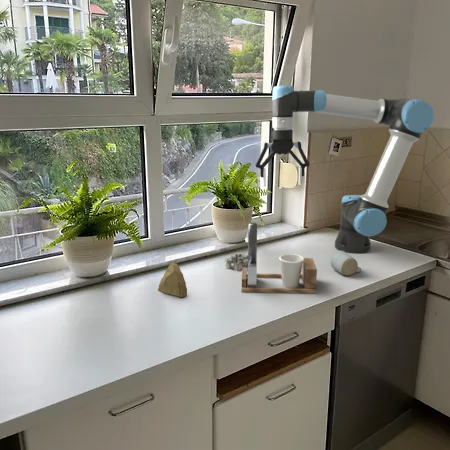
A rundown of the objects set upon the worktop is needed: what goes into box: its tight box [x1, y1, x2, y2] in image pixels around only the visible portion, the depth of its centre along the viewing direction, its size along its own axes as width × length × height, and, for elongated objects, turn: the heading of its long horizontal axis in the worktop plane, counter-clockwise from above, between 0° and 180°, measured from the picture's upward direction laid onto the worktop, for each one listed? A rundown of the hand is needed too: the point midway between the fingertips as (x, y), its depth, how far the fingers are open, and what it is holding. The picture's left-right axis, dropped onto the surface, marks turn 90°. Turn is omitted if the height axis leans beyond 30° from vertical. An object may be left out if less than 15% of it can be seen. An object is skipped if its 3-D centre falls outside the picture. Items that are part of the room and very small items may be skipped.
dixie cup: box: [278, 253, 305, 289], centre depth 160 cm, size 8×8×10 cm
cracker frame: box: [241, 257, 318, 294], centre depth 161 cm, size 25×14×8 cm, turn 87°
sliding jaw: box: [247, 222, 258, 288], centre depth 159 cm, size 3×10×22 cm, turn 177°
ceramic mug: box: [329, 250, 362, 277], centre depth 172 cm, size 11×8×8 cm
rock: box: [157, 261, 188, 298], centre depth 154 cm, size 11×9×10 cm
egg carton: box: [224, 252, 248, 271], centre depth 180 cm, size 11×8×4 cm
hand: (282, 185), depth 178 cm, fingers open, 13 cm apart
